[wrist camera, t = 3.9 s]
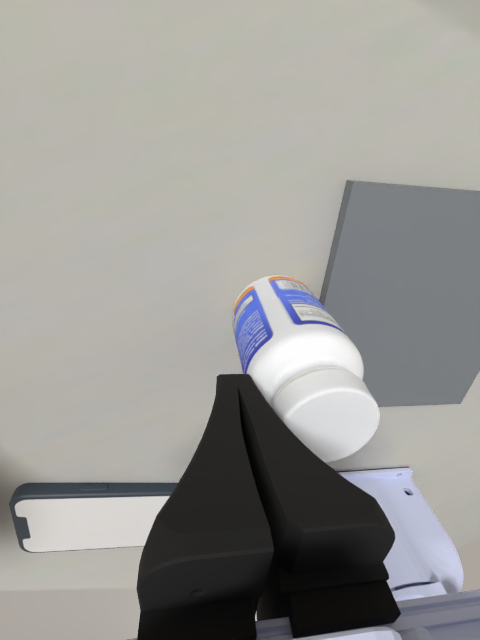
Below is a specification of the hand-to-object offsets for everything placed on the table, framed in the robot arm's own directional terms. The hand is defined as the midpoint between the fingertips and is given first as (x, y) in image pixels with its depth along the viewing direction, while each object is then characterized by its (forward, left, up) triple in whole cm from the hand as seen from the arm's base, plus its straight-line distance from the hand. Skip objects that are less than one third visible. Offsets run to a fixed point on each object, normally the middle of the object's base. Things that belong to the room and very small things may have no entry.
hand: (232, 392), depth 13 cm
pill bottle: (-3, 0, -8) cm, 8 cm away
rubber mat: (-13, 0, -7) cm, 15 cm away
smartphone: (+8, +21, -8) cm, 24 cm away
